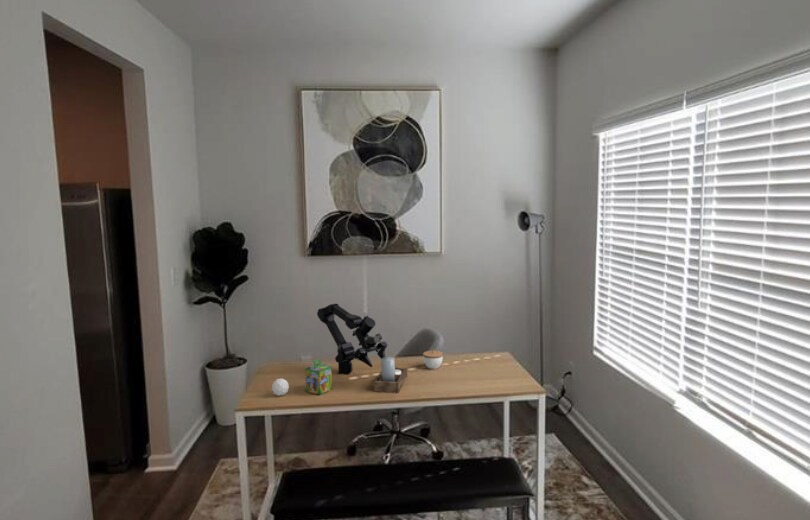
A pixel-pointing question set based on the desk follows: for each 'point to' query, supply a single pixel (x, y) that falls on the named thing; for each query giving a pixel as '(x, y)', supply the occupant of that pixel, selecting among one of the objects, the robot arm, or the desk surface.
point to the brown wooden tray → (391, 386)
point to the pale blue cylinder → (388, 369)
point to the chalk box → (318, 378)
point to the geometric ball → (280, 387)
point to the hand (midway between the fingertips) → (378, 364)
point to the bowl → (397, 371)
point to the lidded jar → (432, 359)
